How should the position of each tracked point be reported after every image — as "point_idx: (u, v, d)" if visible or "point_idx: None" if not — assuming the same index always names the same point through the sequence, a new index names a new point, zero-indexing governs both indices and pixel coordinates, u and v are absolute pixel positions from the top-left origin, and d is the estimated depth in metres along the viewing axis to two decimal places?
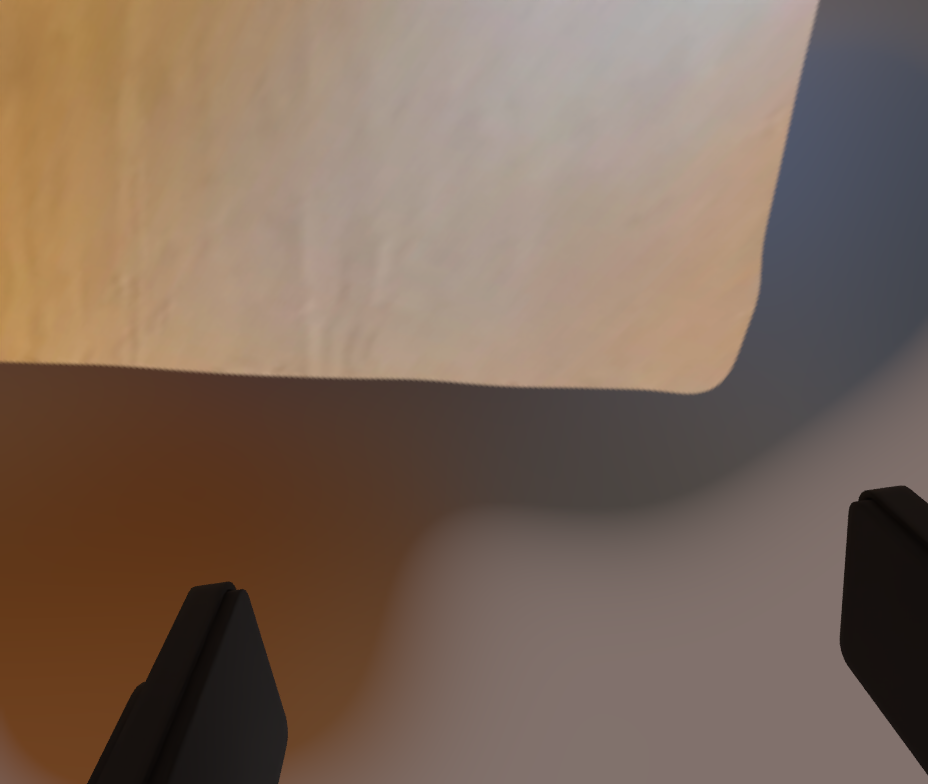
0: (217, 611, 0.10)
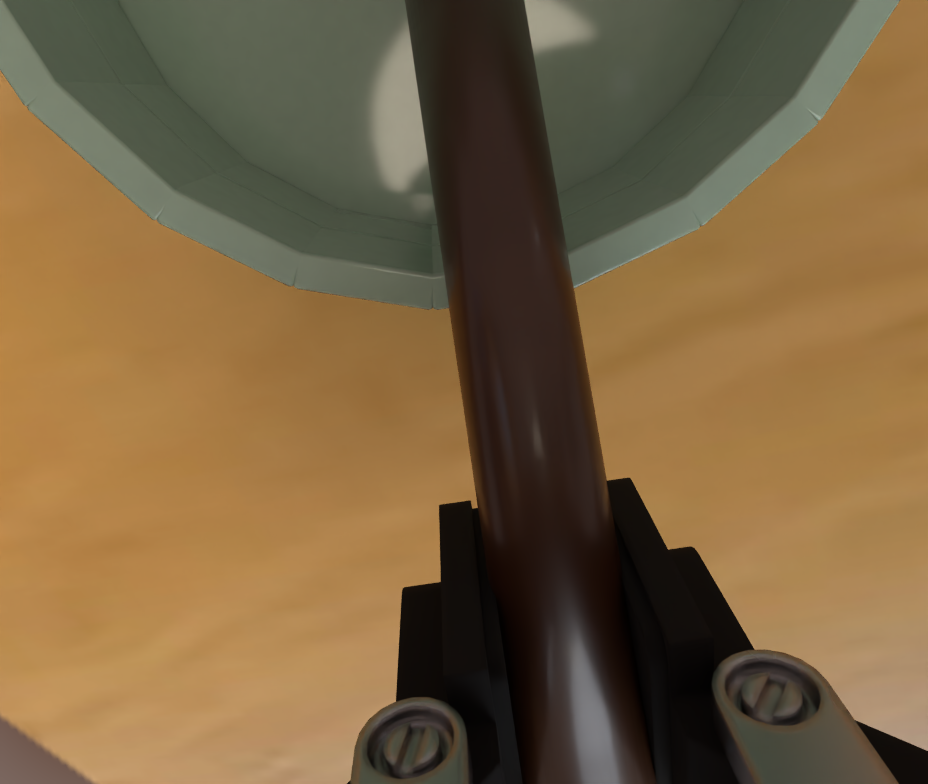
0: (473, 522, 0.11)
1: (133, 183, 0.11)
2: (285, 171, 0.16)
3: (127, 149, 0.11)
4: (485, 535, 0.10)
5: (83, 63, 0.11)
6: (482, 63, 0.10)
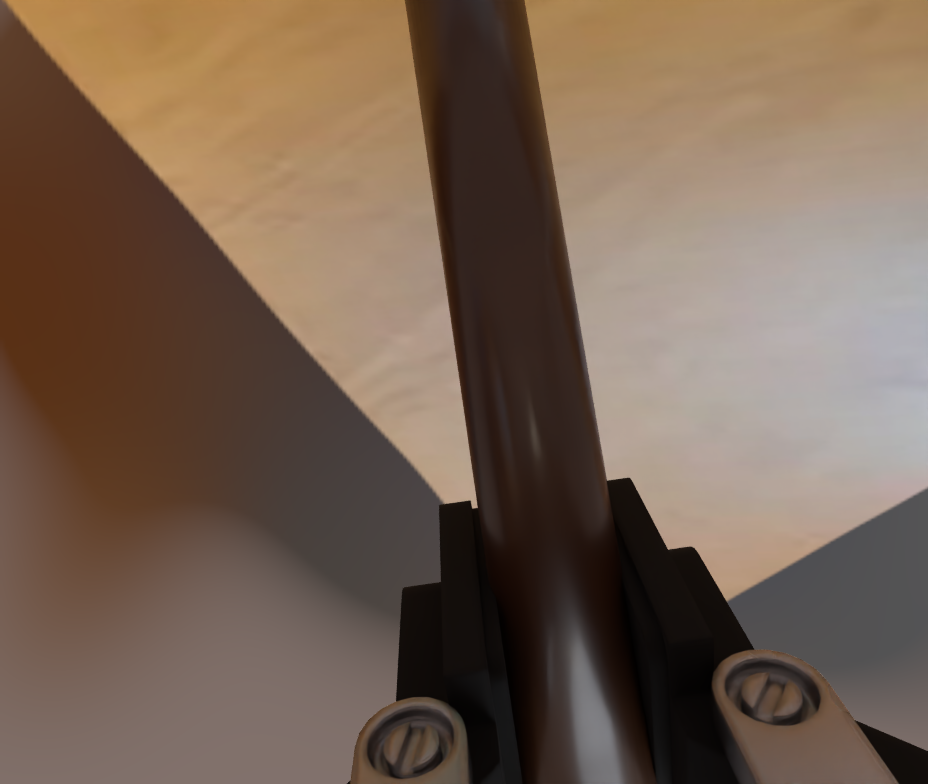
0: (473, 522, 0.11)
1: None
2: None
3: None
4: (485, 535, 0.10)
5: None
6: (482, 62, 0.10)
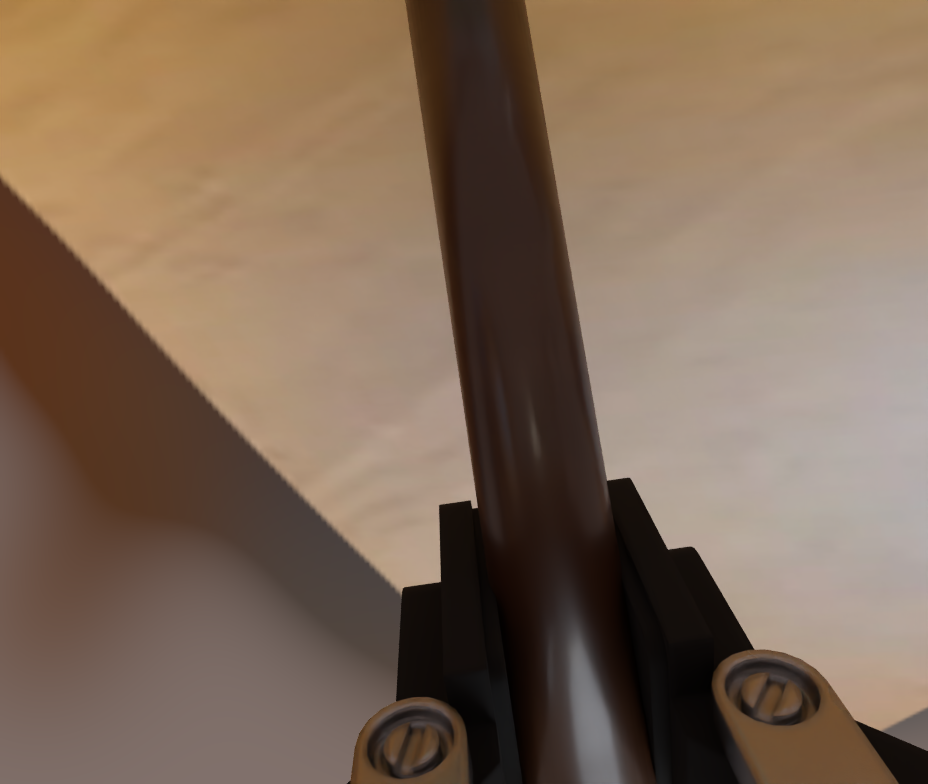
0: (473, 522, 0.11)
1: None
2: None
3: None
4: (485, 535, 0.10)
5: None
6: (482, 63, 0.10)
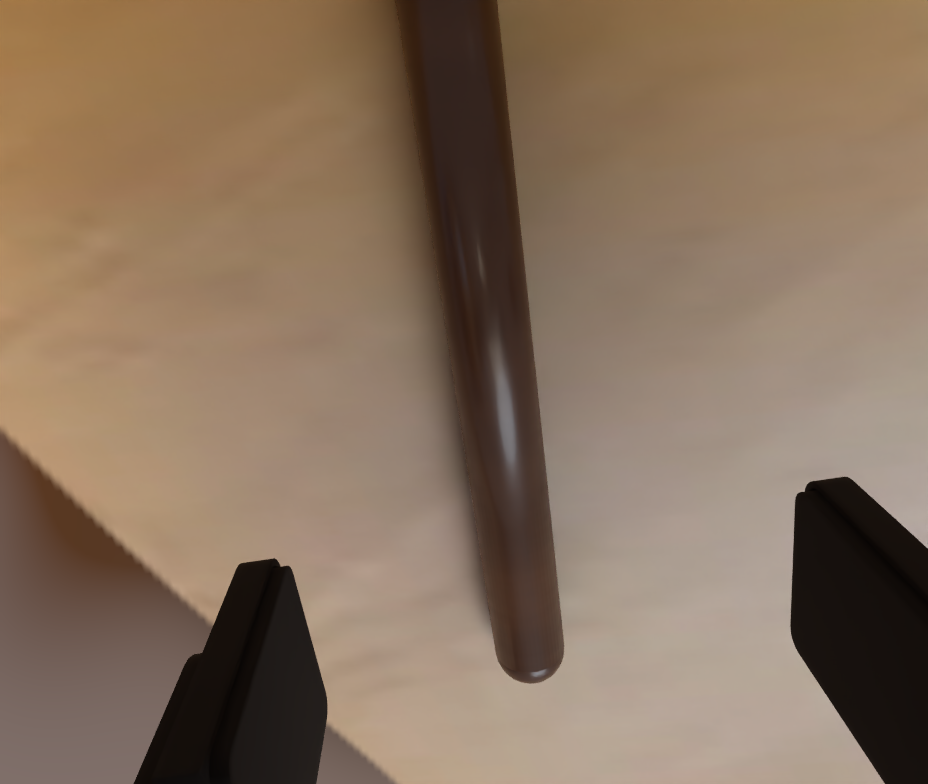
0: (266, 586, 0.10)
1: None
2: None
3: None
4: (471, 486, 0.17)
5: None
6: (477, 204, 0.14)
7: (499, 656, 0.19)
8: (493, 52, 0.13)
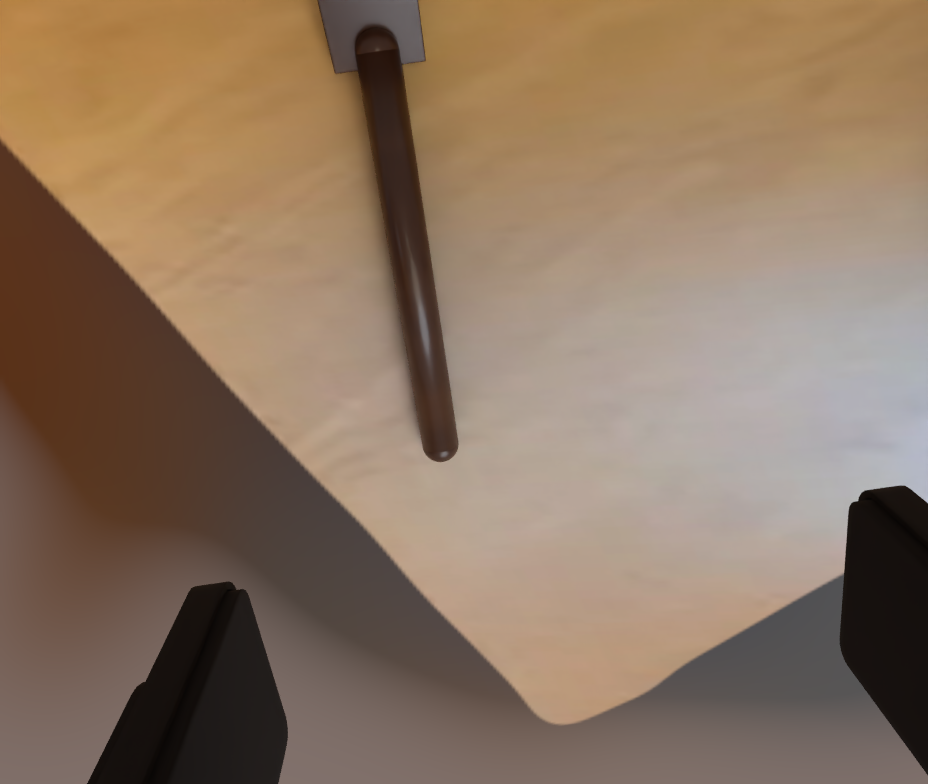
0: (217, 611, 0.10)
1: None
2: None
3: None
4: (406, 351, 0.34)
5: None
6: (403, 214, 0.31)
7: (424, 446, 0.36)
8: (409, 150, 0.31)
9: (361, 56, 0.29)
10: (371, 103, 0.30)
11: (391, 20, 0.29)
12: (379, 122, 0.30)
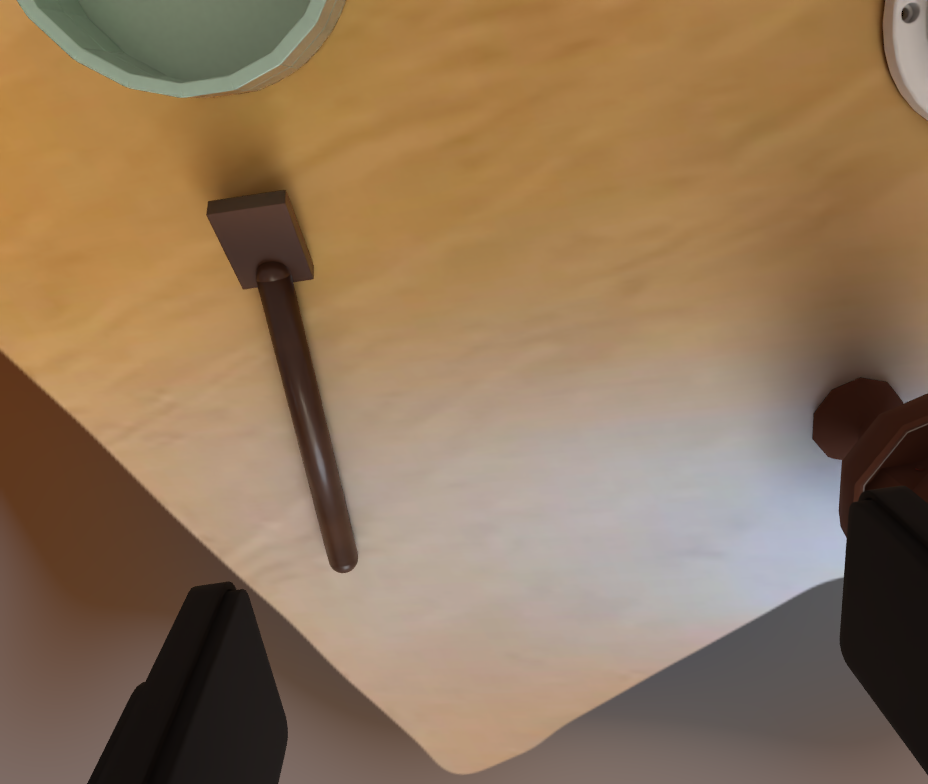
0: (217, 611, 0.10)
1: (65, 45, 0.30)
2: (143, 58, 0.35)
3: (63, 32, 0.30)
4: (310, 490, 0.43)
5: (48, 2, 0.31)
6: (299, 394, 0.40)
7: (329, 561, 0.45)
8: (301, 347, 0.39)
9: (259, 283, 0.38)
10: (269, 316, 0.38)
11: (282, 257, 0.37)
12: (275, 330, 0.38)
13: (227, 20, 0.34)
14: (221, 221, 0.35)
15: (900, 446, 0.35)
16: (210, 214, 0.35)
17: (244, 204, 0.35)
